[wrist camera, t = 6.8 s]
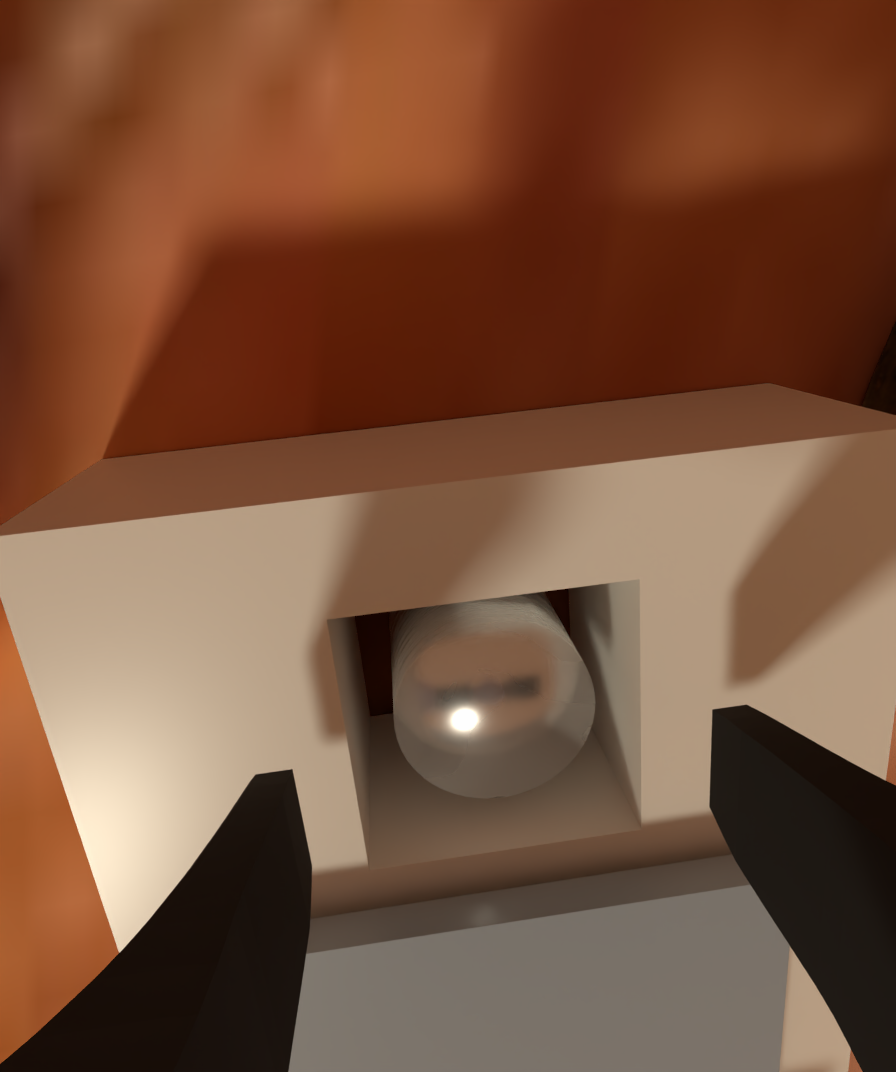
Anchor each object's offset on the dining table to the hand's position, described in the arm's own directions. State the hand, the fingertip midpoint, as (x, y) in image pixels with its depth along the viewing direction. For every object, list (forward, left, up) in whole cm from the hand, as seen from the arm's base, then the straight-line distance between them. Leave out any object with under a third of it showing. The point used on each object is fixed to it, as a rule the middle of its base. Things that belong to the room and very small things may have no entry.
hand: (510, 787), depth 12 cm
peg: (0, 0, -7) cm, 7 cm away
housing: (0, -4, -7) cm, 8 cm away
